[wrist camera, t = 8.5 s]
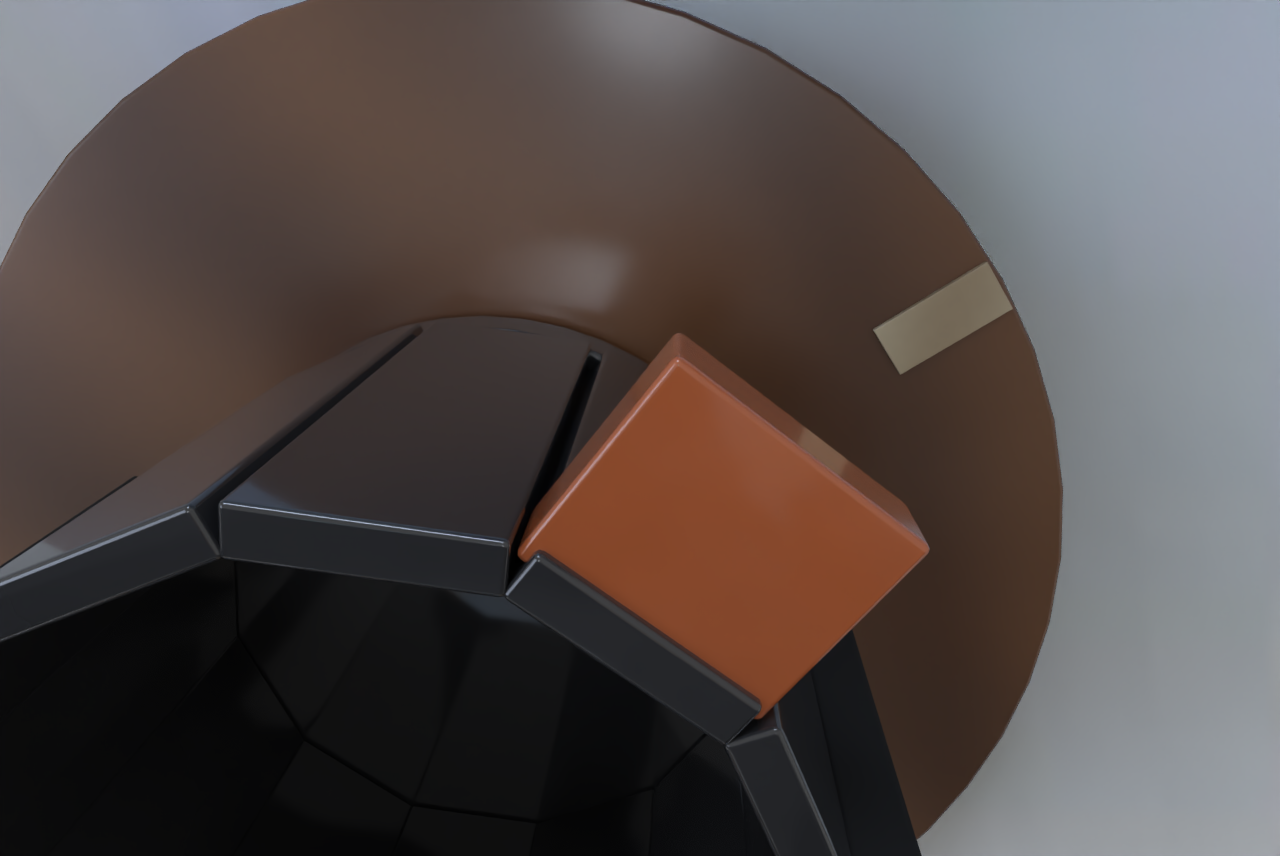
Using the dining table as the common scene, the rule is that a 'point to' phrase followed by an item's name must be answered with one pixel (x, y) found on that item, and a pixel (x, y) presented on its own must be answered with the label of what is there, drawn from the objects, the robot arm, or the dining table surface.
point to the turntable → (551, 284)
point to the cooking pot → (451, 617)
